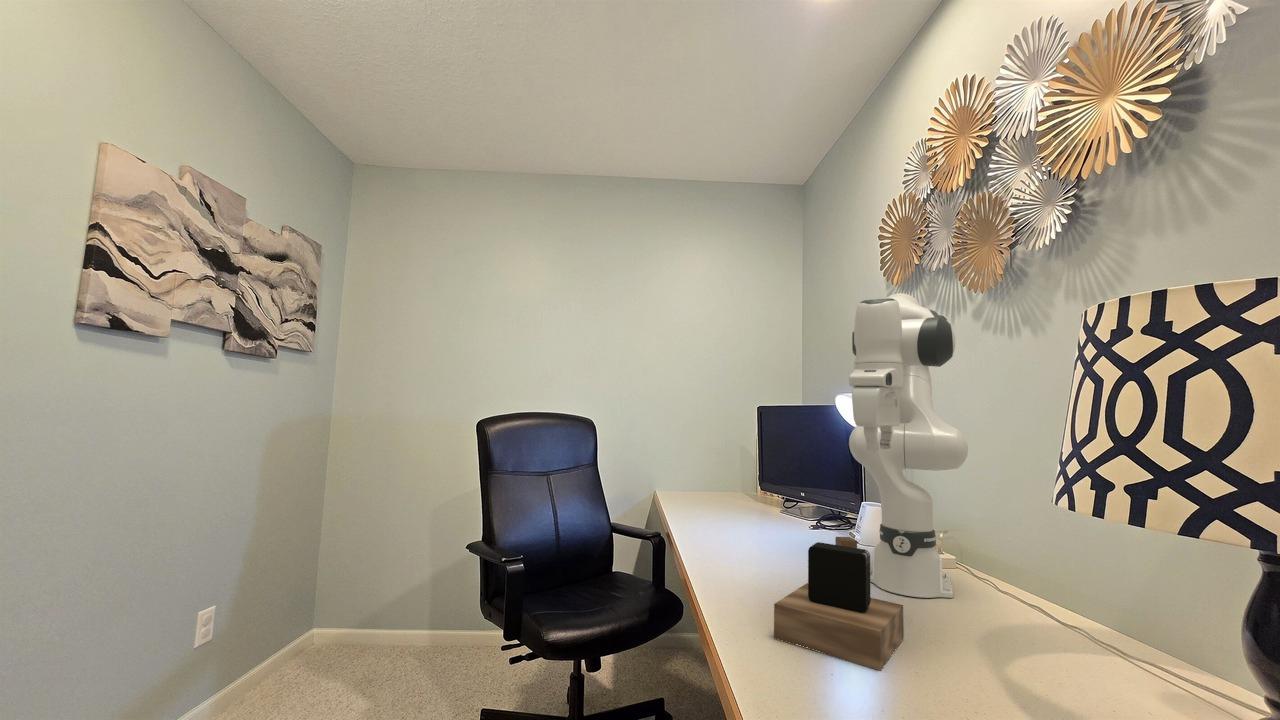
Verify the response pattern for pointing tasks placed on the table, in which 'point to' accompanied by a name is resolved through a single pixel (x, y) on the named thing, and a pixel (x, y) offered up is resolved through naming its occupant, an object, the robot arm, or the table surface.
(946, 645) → the table surface
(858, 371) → the robot arm
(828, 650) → the walnut box
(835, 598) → the electronic device
